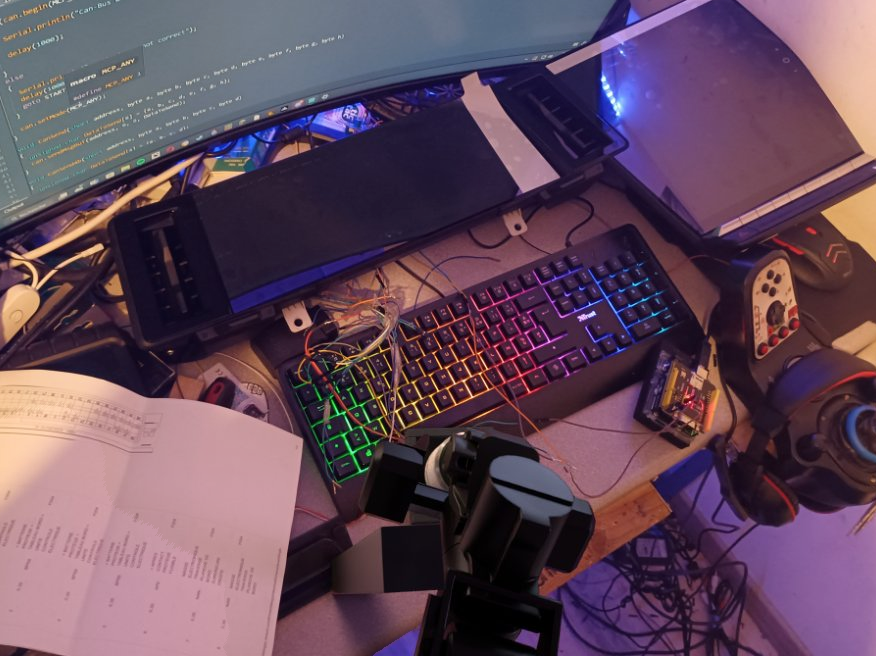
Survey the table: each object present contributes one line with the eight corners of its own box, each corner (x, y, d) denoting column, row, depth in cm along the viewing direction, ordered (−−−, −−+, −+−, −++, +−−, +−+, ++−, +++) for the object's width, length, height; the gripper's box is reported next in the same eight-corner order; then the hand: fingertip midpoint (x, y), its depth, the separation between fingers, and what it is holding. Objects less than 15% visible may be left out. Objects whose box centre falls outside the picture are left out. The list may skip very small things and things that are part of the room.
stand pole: (363, 592, 69) (445, 589, 34) (331, 594, 68) (383, 593, 34) (361, 558, 70) (440, 523, 36) (331, 560, 70) (380, 526, 35)
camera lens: (409, 480, 73) (423, 468, 65) (445, 433, 75) (463, 416, 68) (458, 522, 72) (478, 514, 64) (493, 472, 74) (516, 459, 67)
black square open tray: (498, 521, 73) (505, 518, 71) (409, 525, 72) (413, 523, 70) (488, 431, 77) (494, 426, 75) (403, 433, 75) (407, 428, 73)
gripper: (644, 520, 50) (600, 408, 64) (386, 443, 49) (401, 348, 64) (584, 637, 53) (555, 506, 68) (344, 566, 53) (367, 450, 68)
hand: (472, 451), depth 67 cm, fingers open, 9 cm apart
